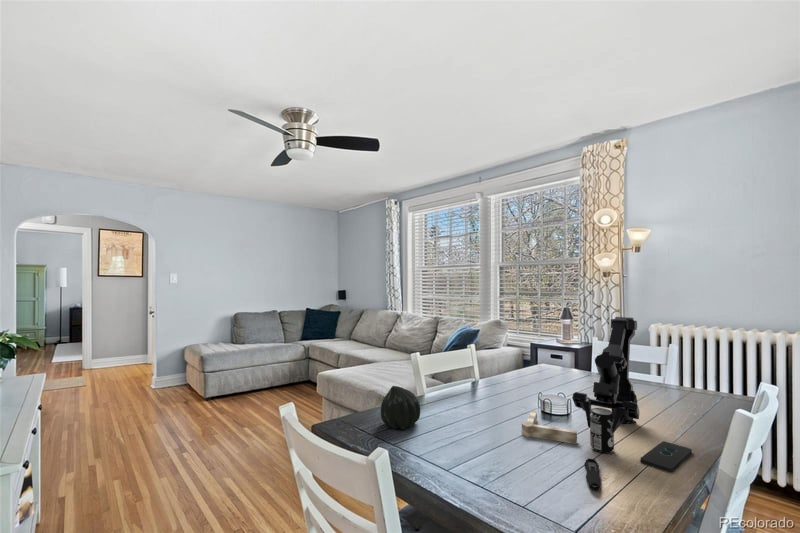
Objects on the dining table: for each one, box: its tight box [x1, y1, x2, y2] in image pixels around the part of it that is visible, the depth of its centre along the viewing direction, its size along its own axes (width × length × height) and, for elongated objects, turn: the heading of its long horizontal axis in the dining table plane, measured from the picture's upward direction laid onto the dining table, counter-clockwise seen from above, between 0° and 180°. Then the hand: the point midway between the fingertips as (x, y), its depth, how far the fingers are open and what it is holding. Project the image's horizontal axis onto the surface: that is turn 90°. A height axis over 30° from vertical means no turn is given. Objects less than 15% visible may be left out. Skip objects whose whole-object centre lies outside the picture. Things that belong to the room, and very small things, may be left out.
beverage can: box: [589, 407, 615, 454], centre depth 123 cm, size 7×7×12 cm
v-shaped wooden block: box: [521, 410, 578, 445], centre depth 137 cm, size 13×23×4 cm, turn 19°
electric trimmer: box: [583, 458, 602, 491], centre depth 106 cm, size 4×16×3 cm, turn 157°
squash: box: [380, 385, 421, 430], centre depth 144 cm, size 14×15×15 cm
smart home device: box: [640, 440, 693, 473], centre depth 118 cm, size 8×2×20 cm
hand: (600, 429), depth 122 cm, fingers closed on beverage can, 6 cm apart
